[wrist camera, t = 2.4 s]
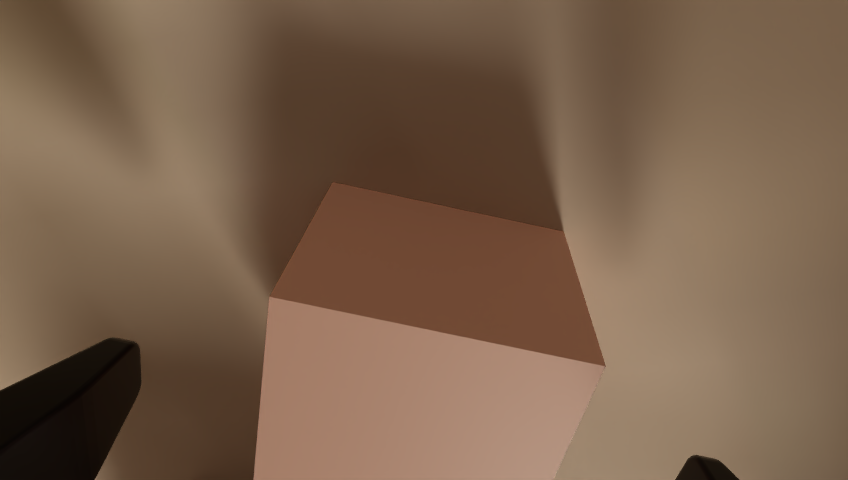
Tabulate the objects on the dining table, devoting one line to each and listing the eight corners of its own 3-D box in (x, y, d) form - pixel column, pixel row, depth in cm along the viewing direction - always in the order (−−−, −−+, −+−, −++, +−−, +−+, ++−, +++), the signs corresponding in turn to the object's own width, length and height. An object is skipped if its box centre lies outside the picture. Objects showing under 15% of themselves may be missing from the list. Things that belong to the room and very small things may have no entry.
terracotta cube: (562, 229, 11) (605, 366, 8) (501, 398, 13) (512, 567, 10) (333, 179, 11) (269, 296, 7) (308, 359, 13) (250, 516, 10)
